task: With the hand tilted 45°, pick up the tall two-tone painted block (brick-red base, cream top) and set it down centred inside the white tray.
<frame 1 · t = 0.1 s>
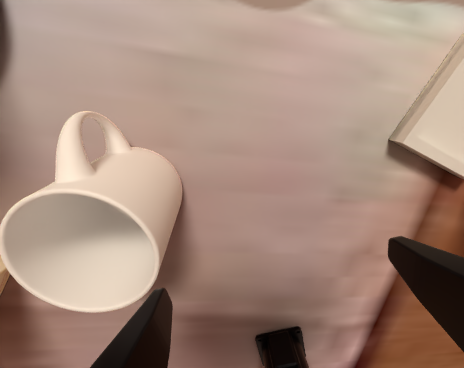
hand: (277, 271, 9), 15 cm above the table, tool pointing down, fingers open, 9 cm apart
white tray: (460, 113, 22), on the table
mug: (137, 170, 22), on the table
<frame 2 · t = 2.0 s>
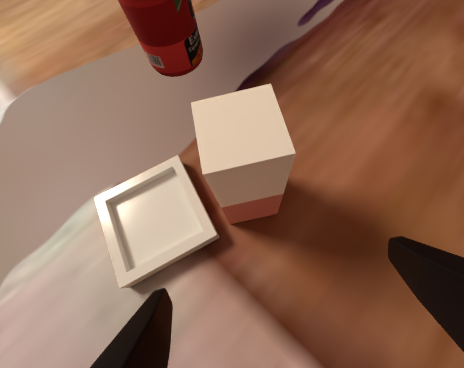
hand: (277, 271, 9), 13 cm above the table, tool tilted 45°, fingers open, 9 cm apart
white tray: (158, 219, 24), on the table
canned food: (178, 60, 34), on the table
two tone block: (248, 196, 24), on the table
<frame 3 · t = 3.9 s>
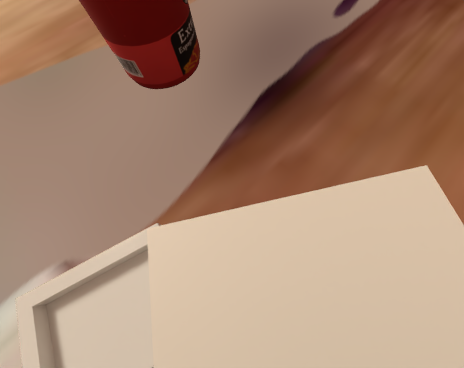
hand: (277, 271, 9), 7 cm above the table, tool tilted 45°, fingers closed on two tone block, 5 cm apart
white tray: (124, 333, 15), on the table
canned food: (165, 65, 24), on the table
two tone block: (275, 296, 14), on the table, touching gripper
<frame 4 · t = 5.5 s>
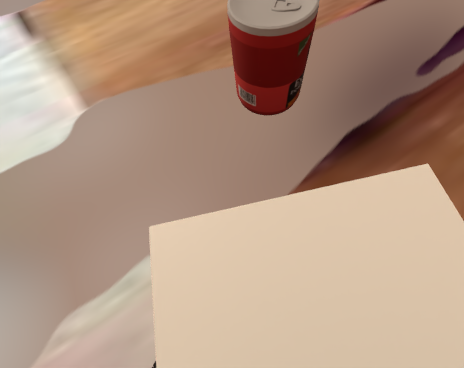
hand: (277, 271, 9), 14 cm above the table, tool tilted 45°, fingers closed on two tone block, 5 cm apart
canned food: (267, 94, 30), on the table
two tone block: (275, 295, 14), point 7 cm above the table, touching gripper
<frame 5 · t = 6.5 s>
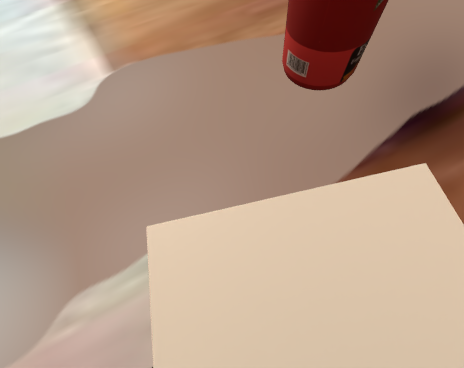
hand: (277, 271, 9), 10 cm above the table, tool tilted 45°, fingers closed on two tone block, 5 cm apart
canned food: (316, 68, 26), on the table
two tone block: (275, 295, 14), point 3 cm above the table, touching gripper
when the fingers open (8 cm above the table, at t = 7.3 s): two tone block stays where it is, resting on white tray.
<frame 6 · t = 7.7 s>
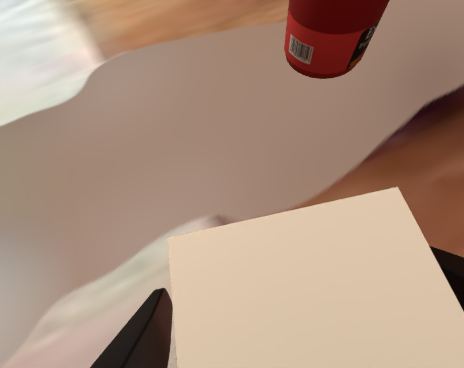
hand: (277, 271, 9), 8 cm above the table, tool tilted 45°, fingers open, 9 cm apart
canned food: (320, 56, 24), on the table
two tone block: (274, 295, 15), point 1 cm above the table, touching white tray
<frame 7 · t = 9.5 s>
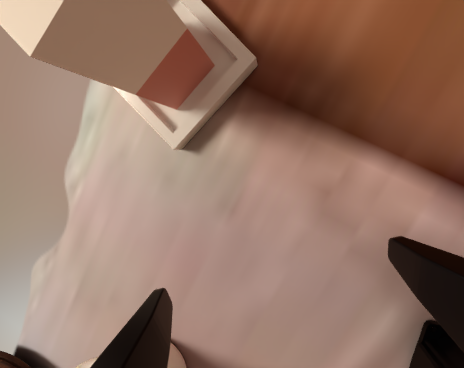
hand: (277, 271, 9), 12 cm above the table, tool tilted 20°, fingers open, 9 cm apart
white tray: (179, 70, 20), on the table
two tone block: (175, 67, 20), point 1 cm above the table, touching white tray
mug: (142, 355, 27), on the table
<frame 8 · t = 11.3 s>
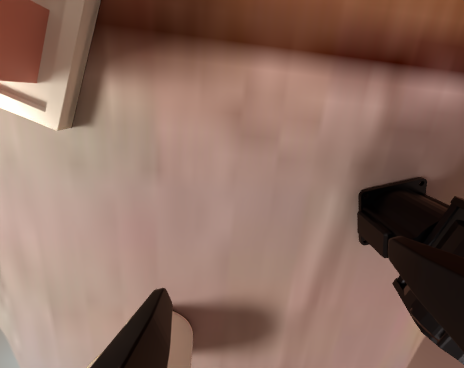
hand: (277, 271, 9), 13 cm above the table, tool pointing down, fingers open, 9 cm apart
white tray: (13, 32, 16), on the table
two tone block: (3, 29, 15), point 1 cm above the table, touching white tray
mug: (146, 331, 28), on the table
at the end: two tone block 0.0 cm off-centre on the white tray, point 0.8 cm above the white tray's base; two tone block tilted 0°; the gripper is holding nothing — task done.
